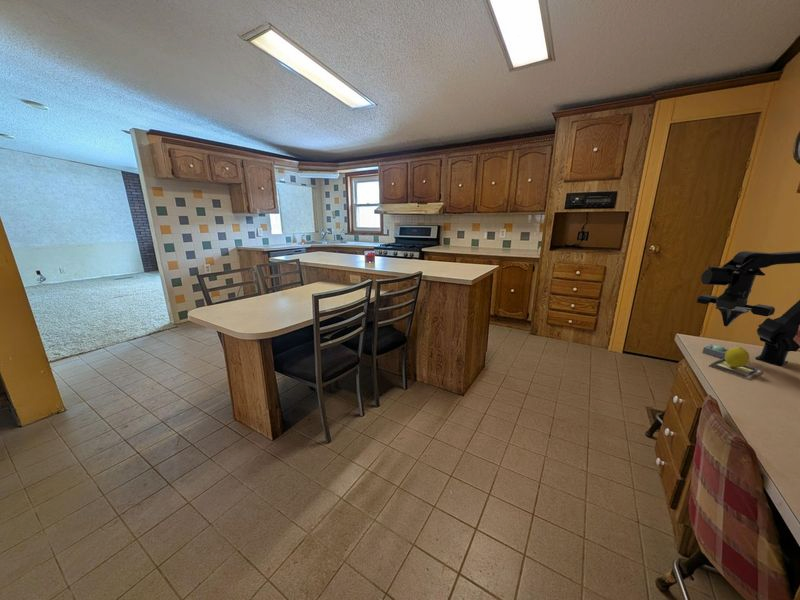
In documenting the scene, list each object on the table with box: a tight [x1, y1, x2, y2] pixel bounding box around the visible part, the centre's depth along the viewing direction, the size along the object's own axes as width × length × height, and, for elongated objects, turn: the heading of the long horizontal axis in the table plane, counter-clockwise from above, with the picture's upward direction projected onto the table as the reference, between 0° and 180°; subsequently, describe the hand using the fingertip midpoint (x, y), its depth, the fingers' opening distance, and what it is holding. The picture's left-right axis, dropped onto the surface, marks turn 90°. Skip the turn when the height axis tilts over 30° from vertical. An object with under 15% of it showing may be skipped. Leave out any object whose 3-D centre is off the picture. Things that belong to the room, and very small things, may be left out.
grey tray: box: [708, 358, 764, 381], centre depth 102 cm, size 11×10×1 cm
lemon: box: [725, 346, 750, 368], centre depth 101 cm, size 6×6×8 cm
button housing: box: [702, 344, 730, 359], centre depth 113 cm, size 6×6×2 cm
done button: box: [712, 344, 725, 352], centre depth 113 cm, size 3×3×3 cm
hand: (725, 326), depth 110 cm, fingers closed
